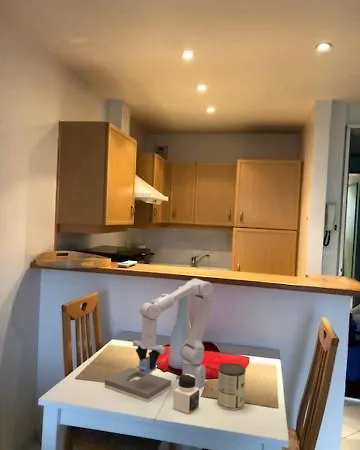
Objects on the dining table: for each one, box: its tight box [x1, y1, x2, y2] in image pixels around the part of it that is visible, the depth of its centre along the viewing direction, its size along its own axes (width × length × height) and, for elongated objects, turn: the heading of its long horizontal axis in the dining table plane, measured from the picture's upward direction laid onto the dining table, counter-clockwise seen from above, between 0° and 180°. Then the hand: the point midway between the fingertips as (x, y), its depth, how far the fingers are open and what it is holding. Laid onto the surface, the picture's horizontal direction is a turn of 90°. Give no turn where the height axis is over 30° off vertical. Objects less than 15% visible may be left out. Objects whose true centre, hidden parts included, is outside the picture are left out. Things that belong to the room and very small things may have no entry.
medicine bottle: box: [172, 374, 200, 415], centre depth 153 cm, size 7×7×12 cm
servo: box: [136, 355, 159, 374], centre depth 163 cm, size 4×10×5 cm, turn 148°
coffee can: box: [217, 362, 247, 411], centre depth 157 cm, size 10×10×14 cm
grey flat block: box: [104, 367, 172, 403], centre depth 169 cm, size 22×16×3 cm
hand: (147, 367), depth 163 cm, fingers closed on servo, 4 cm apart
